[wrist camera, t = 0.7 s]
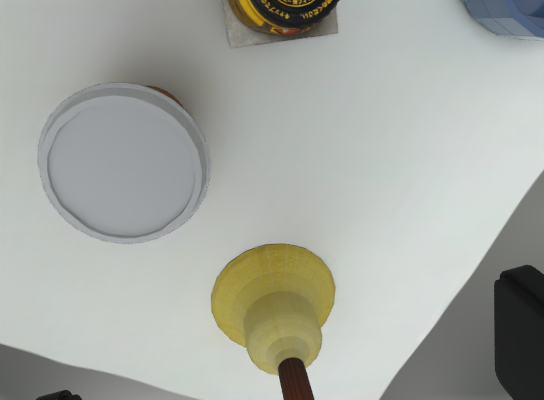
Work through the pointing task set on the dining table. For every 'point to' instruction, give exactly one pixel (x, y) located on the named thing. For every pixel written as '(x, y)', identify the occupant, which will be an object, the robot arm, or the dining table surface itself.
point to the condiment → (278, 20)
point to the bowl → (510, 17)
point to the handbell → (276, 310)
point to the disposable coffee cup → (123, 162)
